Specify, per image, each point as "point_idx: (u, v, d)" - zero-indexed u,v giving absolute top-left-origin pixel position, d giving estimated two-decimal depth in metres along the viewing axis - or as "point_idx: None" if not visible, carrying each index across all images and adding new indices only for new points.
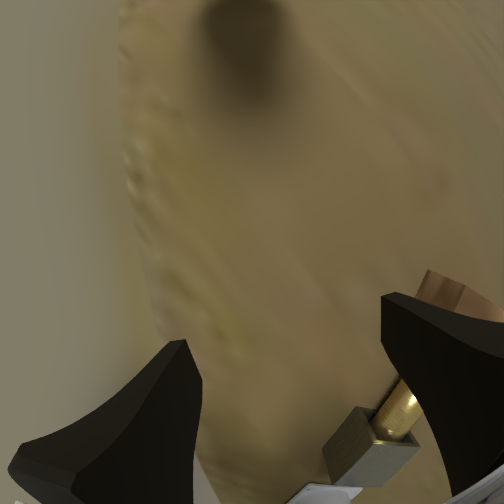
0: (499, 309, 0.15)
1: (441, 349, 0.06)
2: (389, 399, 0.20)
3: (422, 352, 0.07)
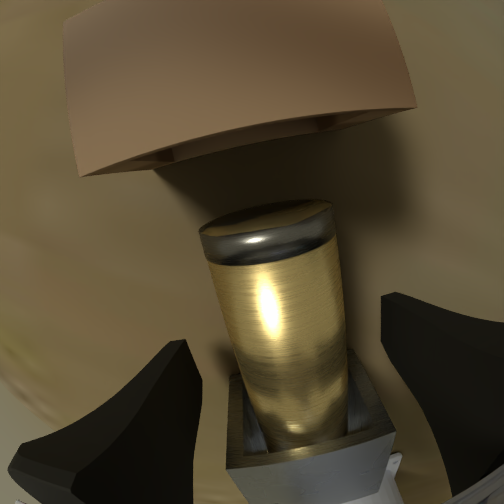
0: None
1: (441, 349, 0.06)
2: None
3: (422, 351, 0.07)
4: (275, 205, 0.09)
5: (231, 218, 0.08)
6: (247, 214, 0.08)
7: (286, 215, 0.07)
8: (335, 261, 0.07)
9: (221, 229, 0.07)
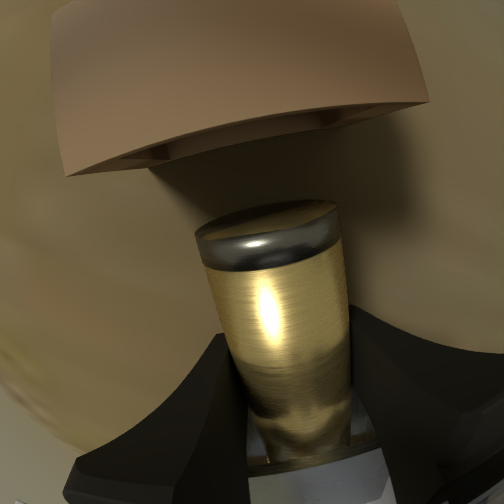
0: None
1: (384, 372, 0.06)
2: None
3: (370, 371, 0.07)
4: (276, 205, 0.08)
5: (229, 219, 0.08)
6: (246, 215, 0.08)
7: (288, 217, 0.07)
8: (340, 266, 0.07)
9: (219, 232, 0.07)
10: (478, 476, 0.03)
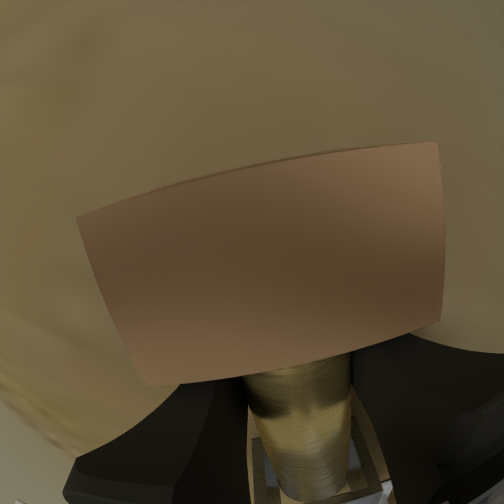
0: (360, 156, 0.05)
1: (384, 372, 0.06)
2: None
3: (370, 370, 0.07)
4: None
5: None
6: None
7: None
8: None
9: None
10: (478, 476, 0.03)
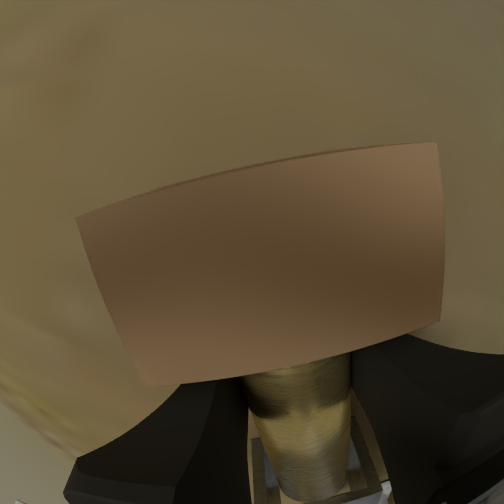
0: (359, 156, 0.05)
1: (382, 372, 0.06)
2: None
3: (368, 371, 0.07)
4: None
5: None
6: None
7: None
8: None
9: None
10: (476, 477, 0.03)
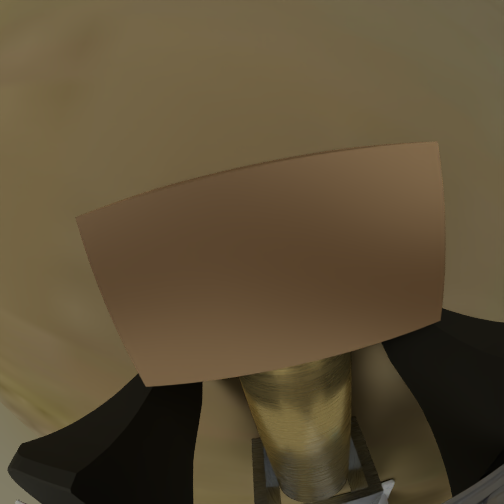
0: (360, 155, 0.04)
1: (441, 349, 0.06)
2: None
3: (423, 351, 0.07)
4: None
5: None
6: None
7: None
8: None
9: None
10: None
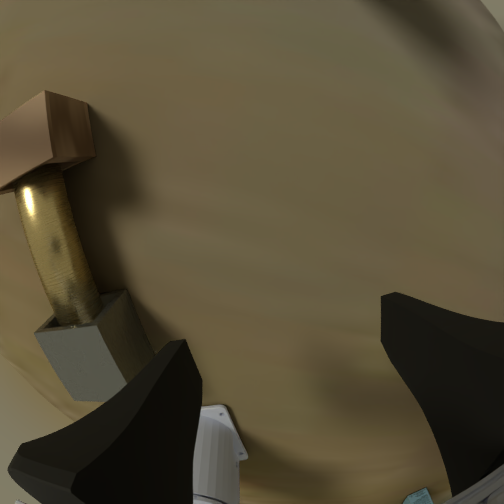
0: (22, 106, 0.10)
1: (441, 349, 0.06)
2: None
3: (422, 351, 0.07)
4: None
5: None
6: None
7: None
8: None
9: None
10: None
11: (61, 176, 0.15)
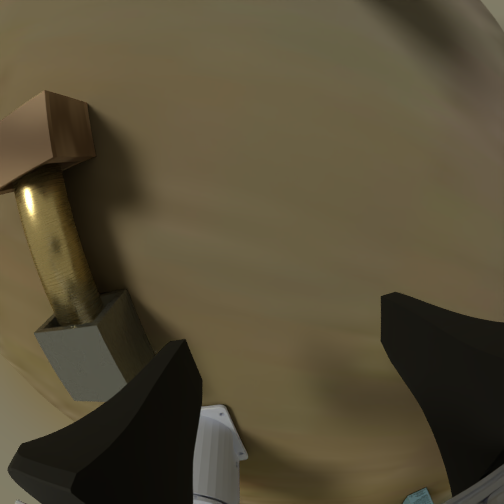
0: (22, 106, 0.10)
1: (441, 349, 0.06)
2: None
3: (422, 351, 0.07)
4: None
5: None
6: None
7: None
8: None
9: None
10: None
11: (61, 176, 0.15)
